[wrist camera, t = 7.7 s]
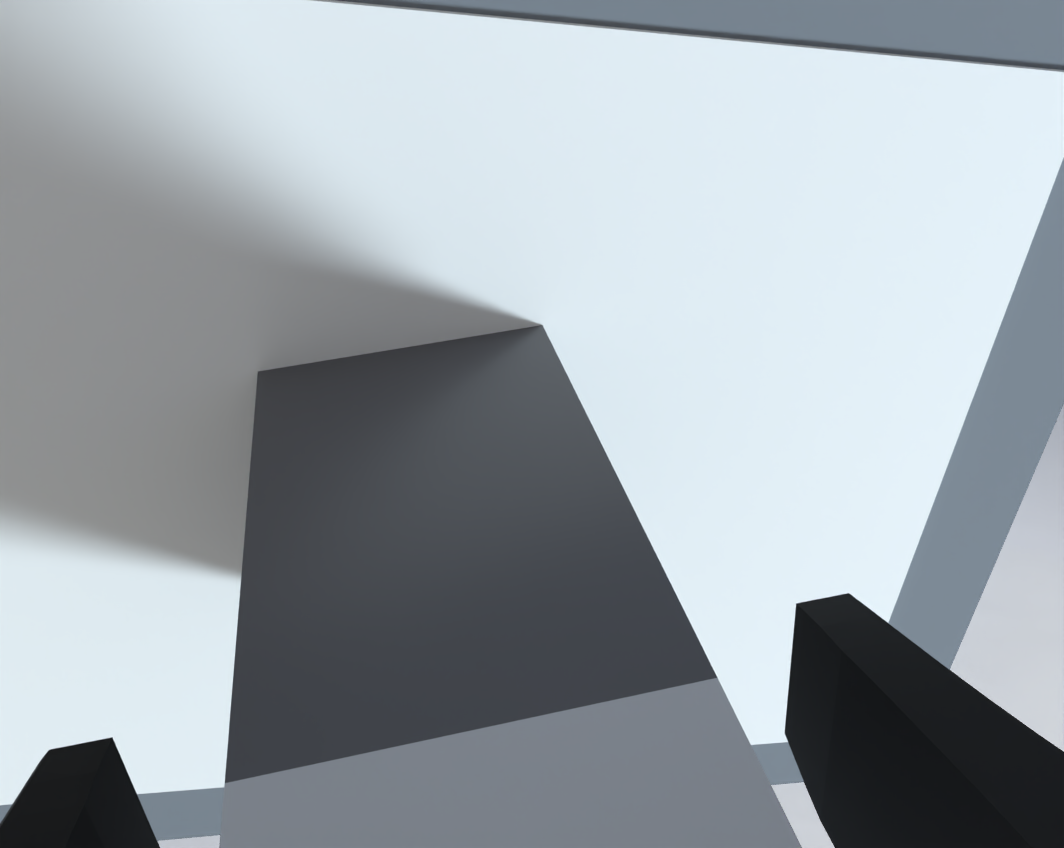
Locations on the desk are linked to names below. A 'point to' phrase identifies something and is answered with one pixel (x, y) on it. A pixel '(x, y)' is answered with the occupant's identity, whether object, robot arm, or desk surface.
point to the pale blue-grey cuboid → (465, 625)
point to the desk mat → (516, 307)
